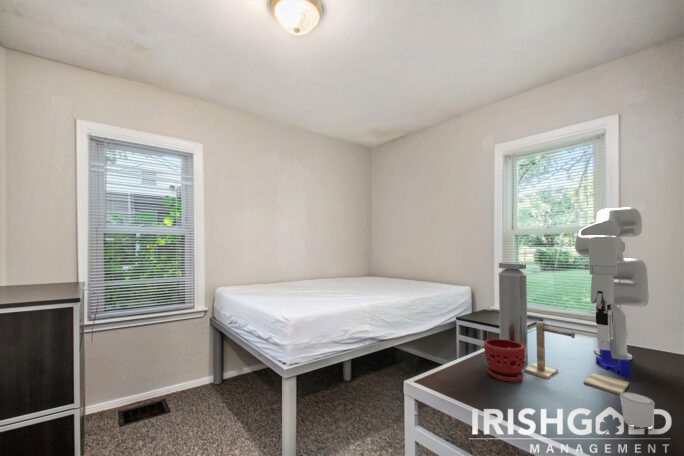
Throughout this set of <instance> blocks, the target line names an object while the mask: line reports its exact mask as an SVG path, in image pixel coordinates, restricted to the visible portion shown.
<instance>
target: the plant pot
mask: <svg viewBox="0 0 684 456" xmlns="http://www.w3.org/2000/svg"><path fill="white" fill-rule="evenodd" d="M483 343H484V344H483V347H484V357H485V360H486V363H487V365H488V367H487V372H488V374H490V376H492V377H493V378H494V379H497V380H500V381H505V382H519V381H521V380H522V379H523V378H524V376H525V375H524V373H523V368H524V357H525V349H524V345H522V344H521V343H518V342H515V341H511V340H504V339H500V338H490V339H489V338H488V339H485V341H484V342H483ZM508 347H510V348H508Z"/></svg>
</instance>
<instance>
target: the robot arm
mask: <svg viewBox="0 0 684 456" xmlns="http://www.w3.org/2000/svg"><path fill="white" fill-rule="evenodd" d="M642 222H643V221H642V215H641V213H640V211H639V210H638V209H636V208H635V207H617V208H616V207H615V208H614V207H613V208H604V209H601V210H599V211H598V212H596V214H595V215H594V218H593V220H591V222H590V223H589V225H587V226H585V227H582V228H581V229H580V230H579V231H578V232H577V235H576V238H575V241H574V249H575V251H576V253H577V254H578V255H580V256H584V257H585V256H586V257H588V265H589V267H588V268H589V271H588V272H589V275H591V282H590V283H591V284H590V303H592V304H595V324H596V325H597V324H600V325H606V326H607V325H608V313H607V309H612V332H613V339H612V340H611V339H610V341H609V342H608V341H602V340H597V347H595V348H593V352H594V353H595V354H597V356H600V349H606V350H610V351H611V356H612V359H613V360H616V361H618V359H628V360H630V361H631V360H633V355H632V354H630V353H629V352H628V345H627V344H628V342H627V341H628V338H627V337H628V336H627V317H626V314H625V312H624V310H622V309H621V307H619V306H628V307H635V308H636V307H637V308H639V307H640V308H643V307H646V306H648V304H649V300H650V299H649V279H648V277H649V276H648V268H647V265H646V263H645V261H643V260H642V259H639V258H624V255H623V253H624V252H625V250H626V243H625V241H624V240H623V239H622V238H625V237H626V238H630V237H631V238H633V237H638V236H640V235H641V233H642V230H643V223H642ZM615 280H617V281H615ZM618 280H619V282H618ZM620 281H630V282H620Z"/></svg>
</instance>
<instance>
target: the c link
mask: <svg viewBox="0 0 684 456" xmlns="http://www.w3.org/2000/svg"><path fill="white" fill-rule="evenodd" d="M607 313H608V325H607V326H606V325H600V324H596V334H597V335H596V337H597V338H596V339H597V341H598V340H602V341H608V342H609V341H610V339H611V340H612V339H613V332H612V309H607Z"/></svg>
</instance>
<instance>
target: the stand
mask: <svg viewBox="0 0 684 456" xmlns="http://www.w3.org/2000/svg"><path fill="white" fill-rule="evenodd" d="M535 323H536V362H534V363H532V364H530V365H527V367H525V368H524V370H523V371H524V373H527V374H531V375H534V376H537V377H540V378H544V379H547V380H549V379H551V378H552V377H553V376H554V375H556V374H557V373H558V372H559V369H558V368H556V367H552V366H548V365H546V350H545V348H546V346H545V343H546V342H545V332H547V333H552V334H557V335H562V336H567V337H571V339H575V336H576V333H575V332H574V331H572V332H568V331H567V332H566V331H561V330H558V329H551V328H545V322H544V321H539V320H537V321H536V322H535Z"/></svg>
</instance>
